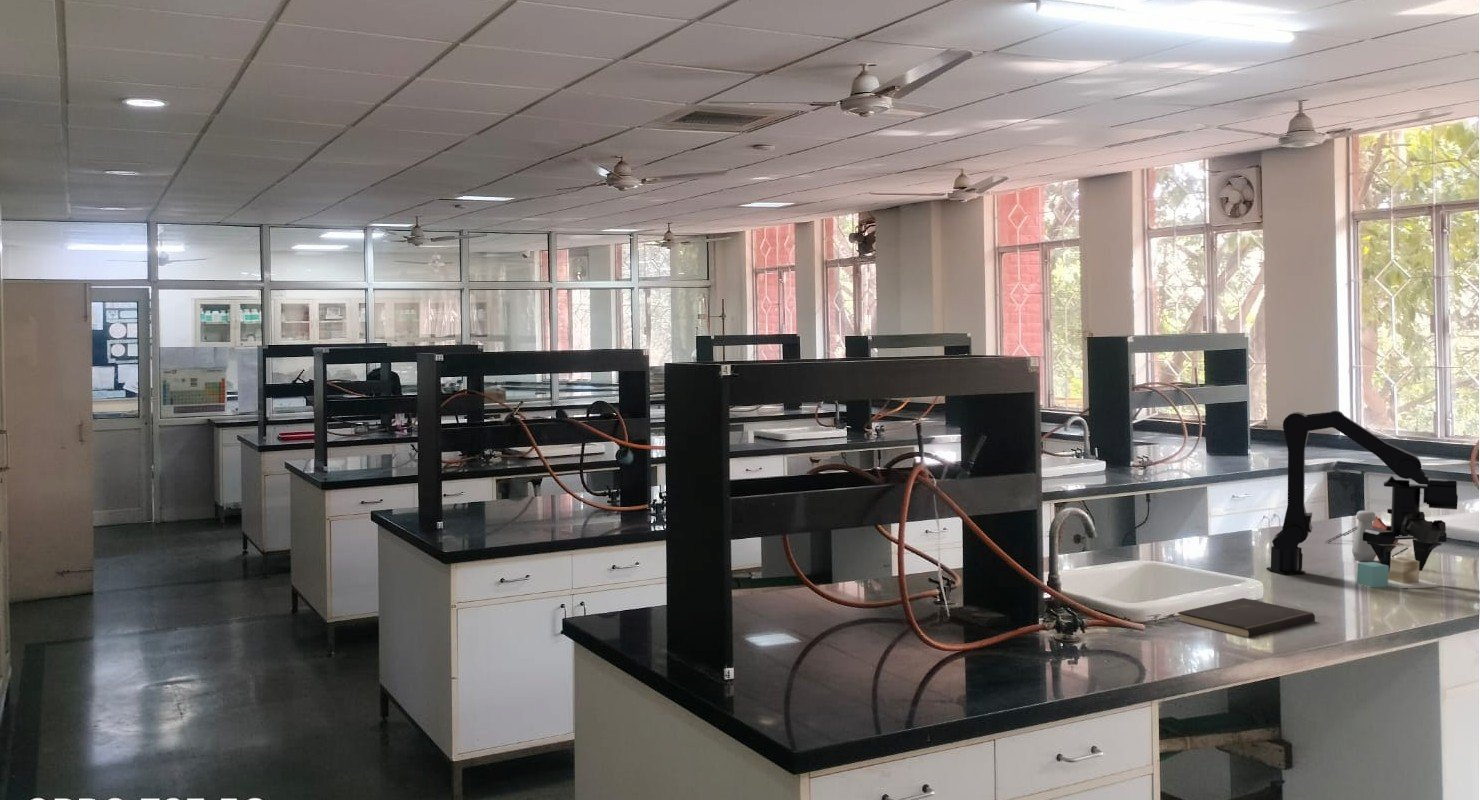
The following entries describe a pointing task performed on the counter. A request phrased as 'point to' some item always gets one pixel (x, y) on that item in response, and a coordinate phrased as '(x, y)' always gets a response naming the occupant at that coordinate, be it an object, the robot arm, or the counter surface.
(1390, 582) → the plate
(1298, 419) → the robot arm
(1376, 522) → the anatomical diagram
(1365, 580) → the brick
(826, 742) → the counter surface
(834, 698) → the counter surface
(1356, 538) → the salt shaker
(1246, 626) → the hardcover book
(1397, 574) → the brick
